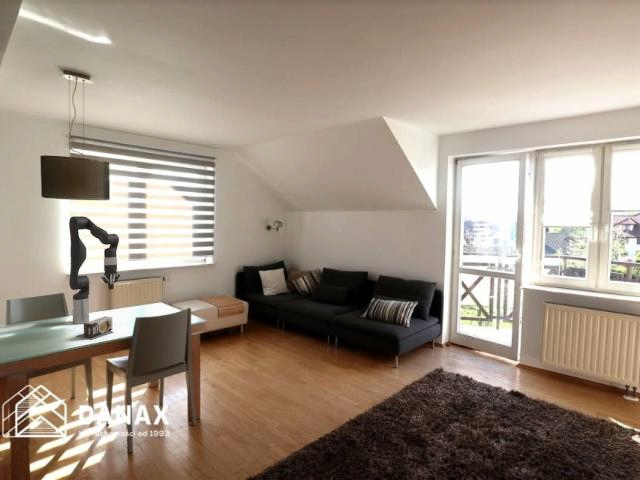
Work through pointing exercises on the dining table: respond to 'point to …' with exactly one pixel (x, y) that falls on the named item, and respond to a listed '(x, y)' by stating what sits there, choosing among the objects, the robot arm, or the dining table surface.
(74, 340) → the dining table surface
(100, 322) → the coffee box
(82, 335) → the mat
